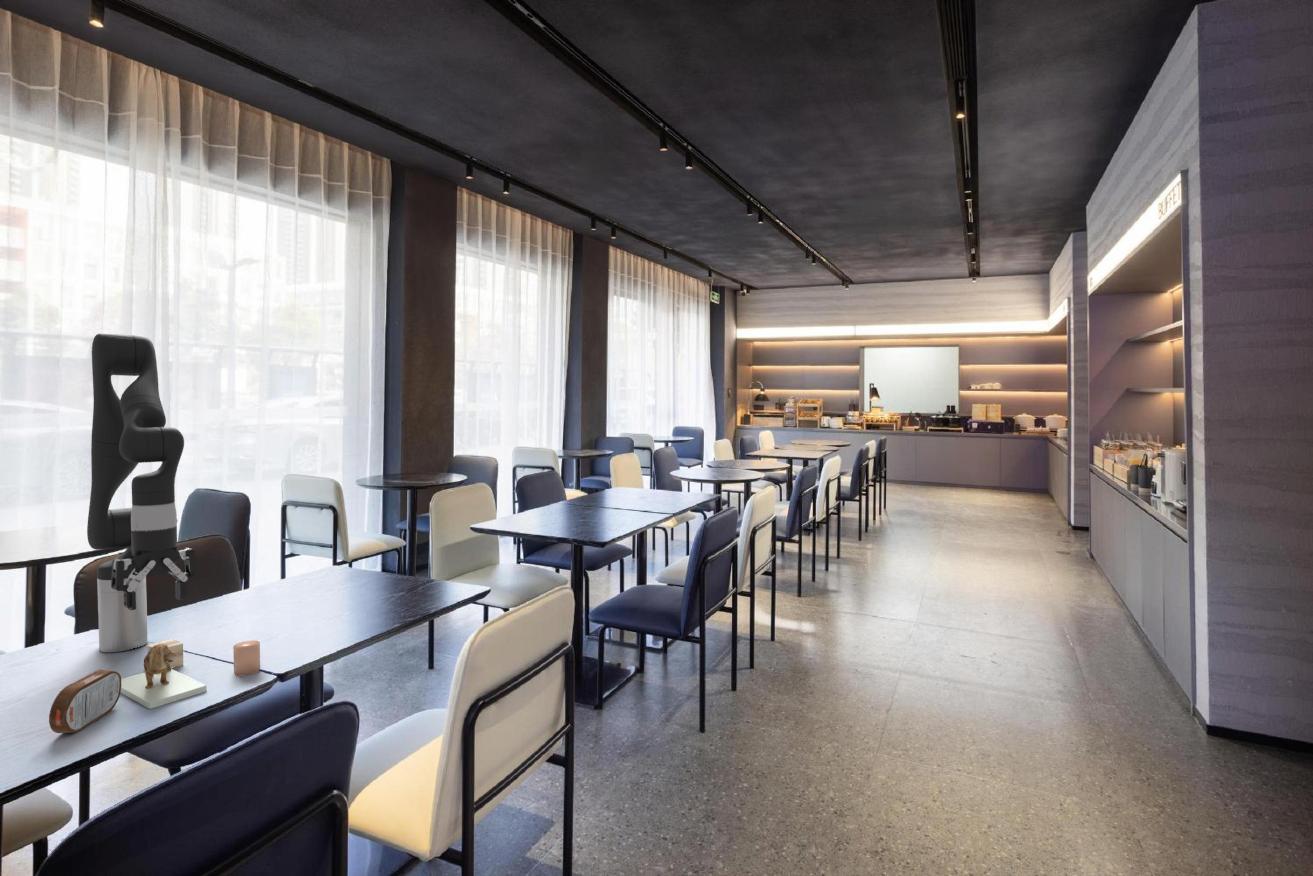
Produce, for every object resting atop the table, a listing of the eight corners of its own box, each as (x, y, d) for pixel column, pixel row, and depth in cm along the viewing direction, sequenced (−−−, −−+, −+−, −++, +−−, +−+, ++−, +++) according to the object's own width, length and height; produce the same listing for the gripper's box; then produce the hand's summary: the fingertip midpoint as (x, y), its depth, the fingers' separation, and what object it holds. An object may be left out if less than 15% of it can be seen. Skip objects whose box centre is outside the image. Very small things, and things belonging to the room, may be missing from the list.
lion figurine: (178, 688, 139) (177, 644, 139) (145, 695, 136) (144, 650, 135) (170, 666, 150) (169, 626, 150) (140, 672, 147) (139, 631, 146)
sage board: (111, 687, 142) (110, 681, 142) (166, 671, 150) (166, 666, 150) (149, 709, 132) (149, 703, 132) (206, 691, 141) (206, 685, 141)
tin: (108, 704, 134) (107, 662, 134) (126, 704, 134) (124, 662, 134) (47, 742, 119) (45, 695, 119) (66, 742, 119) (65, 694, 119)
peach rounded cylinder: (229, 672, 150) (228, 645, 150) (252, 665, 155) (252, 639, 154) (241, 677, 148) (240, 650, 147) (264, 670, 152) (264, 643, 152)
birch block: (147, 667, 153) (147, 645, 153) (173, 660, 157) (172, 639, 157) (157, 672, 150) (157, 649, 150) (183, 665, 155) (182, 643, 154)
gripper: (184, 518, 148) (186, 593, 148) (104, 528, 136) (106, 609, 136) (201, 522, 144) (203, 599, 144) (120, 533, 132) (122, 616, 132)
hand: (156, 604), depth 140 cm, fingers open, 8 cm apart
